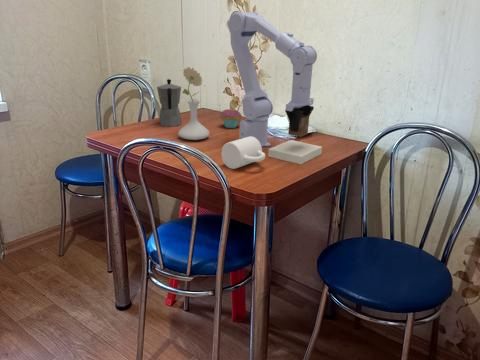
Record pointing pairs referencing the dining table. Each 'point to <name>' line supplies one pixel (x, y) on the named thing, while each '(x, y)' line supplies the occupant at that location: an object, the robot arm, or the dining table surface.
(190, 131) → the flower in vase
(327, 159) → the dining table surface
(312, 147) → the cream plinth
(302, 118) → the walnut block
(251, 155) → the mug
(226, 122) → the cupcake
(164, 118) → the coffeepot
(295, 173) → the dining table surface
